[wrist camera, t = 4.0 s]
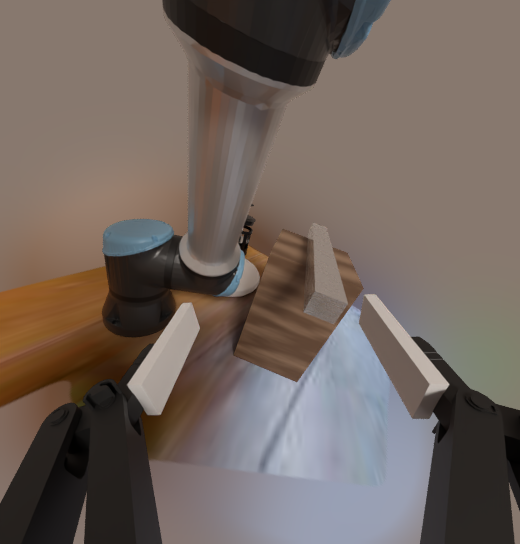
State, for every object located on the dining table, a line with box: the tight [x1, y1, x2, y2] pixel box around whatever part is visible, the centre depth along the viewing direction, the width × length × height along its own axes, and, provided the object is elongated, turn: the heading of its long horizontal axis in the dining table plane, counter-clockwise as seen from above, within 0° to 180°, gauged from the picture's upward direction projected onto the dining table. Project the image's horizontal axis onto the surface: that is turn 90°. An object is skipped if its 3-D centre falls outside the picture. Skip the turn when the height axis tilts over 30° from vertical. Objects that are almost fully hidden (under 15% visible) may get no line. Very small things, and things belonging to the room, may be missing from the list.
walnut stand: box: [234, 229, 363, 382], centre depth 45 cm, size 16×16×28 cm
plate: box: [225, 259, 260, 297], centre depth 70 cm, size 28×6×27 cm
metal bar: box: [303, 223, 348, 324], centre depth 34 cm, size 32×4×3 cm, turn 166°
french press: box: [238, 204, 255, 255], centre depth 86 cm, size 12×9×23 cm
